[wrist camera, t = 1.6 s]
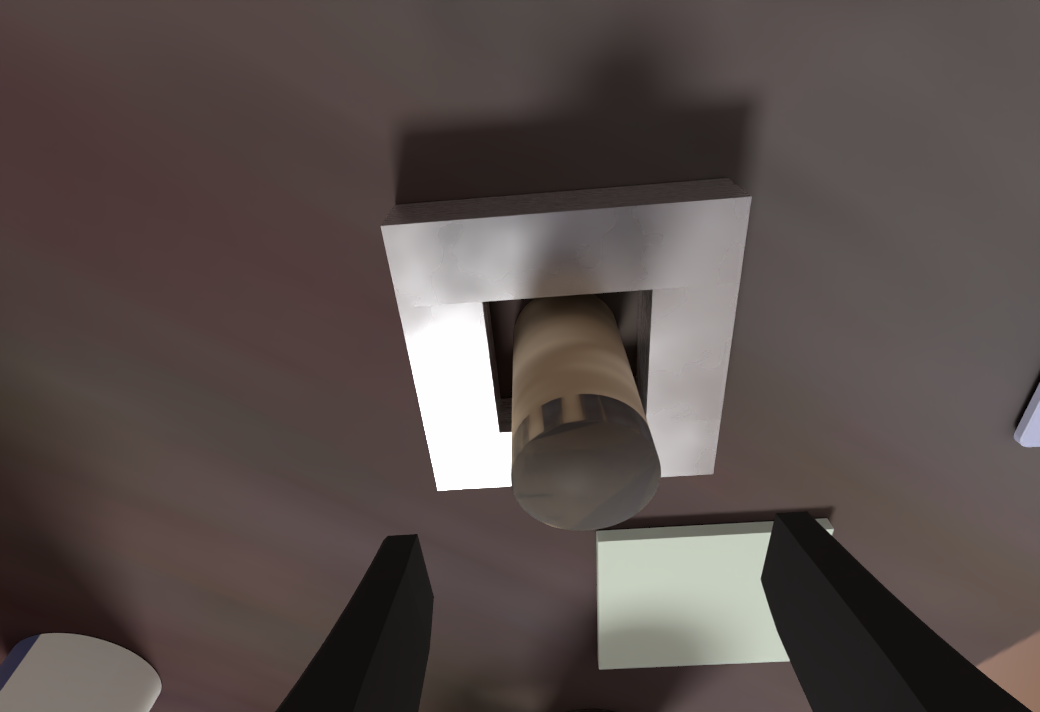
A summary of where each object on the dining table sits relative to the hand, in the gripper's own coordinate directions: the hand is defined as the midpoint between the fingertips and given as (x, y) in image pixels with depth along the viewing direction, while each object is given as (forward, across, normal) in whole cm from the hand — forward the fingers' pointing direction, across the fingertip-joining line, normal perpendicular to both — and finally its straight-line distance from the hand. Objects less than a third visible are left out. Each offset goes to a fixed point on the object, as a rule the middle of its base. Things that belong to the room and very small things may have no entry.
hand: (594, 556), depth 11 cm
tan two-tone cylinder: (+9, 0, 0) cm, 9 cm away
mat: (+9, -6, +15) cm, 19 cm away
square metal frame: (+9, 0, 0) cm, 9 cm away
